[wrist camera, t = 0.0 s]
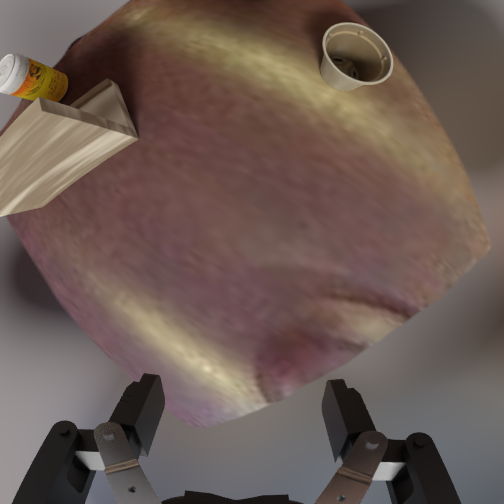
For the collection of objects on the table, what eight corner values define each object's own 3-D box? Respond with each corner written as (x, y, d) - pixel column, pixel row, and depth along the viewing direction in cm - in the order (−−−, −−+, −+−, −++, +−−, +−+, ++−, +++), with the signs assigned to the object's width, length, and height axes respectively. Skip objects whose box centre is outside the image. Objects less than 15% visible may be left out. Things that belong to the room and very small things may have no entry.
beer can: (70, 98, 34) (12, 79, 20) (45, 110, 34) (-12, 98, 20) (71, 69, 33) (18, 44, 18) (46, 82, 33) (-7, 63, 18)
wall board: (27, 157, 36) (-64, 160, 15) (117, 84, 34) (29, 33, 13) (43, 207, 39) (-52, 231, 17) (138, 138, 37) (41, 111, 15)
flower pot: (349, 41, 32) (368, 17, 24) (379, 91, 34) (405, 74, 26) (298, 57, 34) (308, 31, 25) (329, 109, 36) (348, 93, 27)
